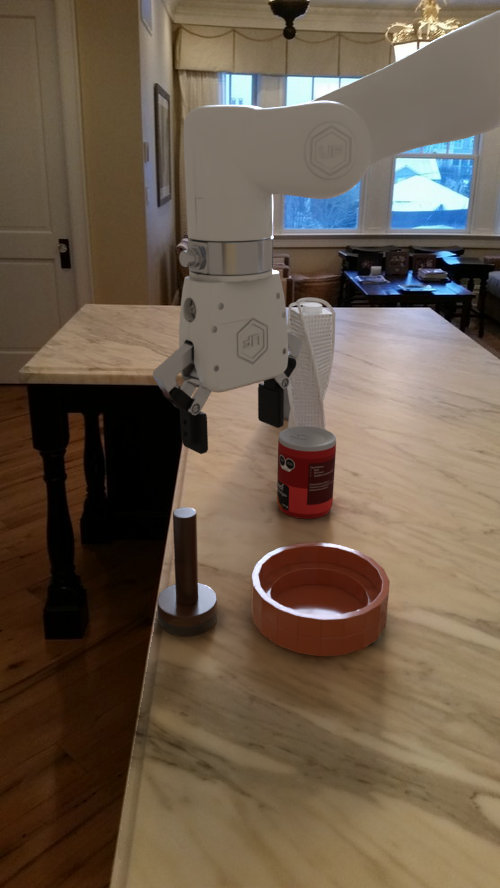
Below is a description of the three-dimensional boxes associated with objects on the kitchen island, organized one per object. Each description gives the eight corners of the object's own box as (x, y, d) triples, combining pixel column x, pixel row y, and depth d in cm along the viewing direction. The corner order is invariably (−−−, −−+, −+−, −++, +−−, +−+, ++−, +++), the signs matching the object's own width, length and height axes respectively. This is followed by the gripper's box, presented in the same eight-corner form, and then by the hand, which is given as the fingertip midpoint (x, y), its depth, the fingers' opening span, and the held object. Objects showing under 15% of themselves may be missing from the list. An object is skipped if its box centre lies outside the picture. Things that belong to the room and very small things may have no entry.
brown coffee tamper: (193, 593, 81) (190, 492, 76) (229, 619, 77) (228, 514, 72) (146, 615, 77) (140, 510, 72) (181, 644, 73) (177, 534, 68)
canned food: (281, 492, 105) (283, 423, 101) (334, 497, 103) (339, 428, 99) (272, 516, 98) (273, 444, 94) (329, 522, 97) (333, 449, 92)
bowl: (316, 565, 87) (318, 529, 85) (413, 620, 77) (417, 582, 75) (224, 611, 78) (224, 573, 76) (320, 681, 68) (322, 639, 66)
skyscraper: (315, 484, 108) (324, 301, 97) (271, 473, 111) (276, 295, 100) (335, 466, 114) (346, 292, 103) (294, 456, 117) (300, 287, 107)
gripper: (176, 275, 55) (186, 473, 62) (328, 253, 65) (322, 424, 72) (125, 264, 60) (139, 448, 67) (273, 245, 71) (272, 406, 77)
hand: (234, 436), depth 69 cm, fingers open, 9 cm apart
